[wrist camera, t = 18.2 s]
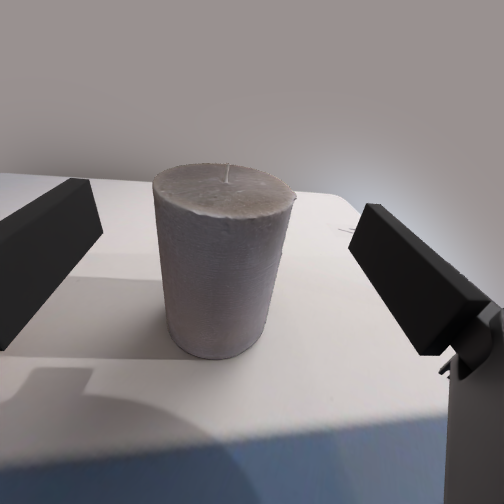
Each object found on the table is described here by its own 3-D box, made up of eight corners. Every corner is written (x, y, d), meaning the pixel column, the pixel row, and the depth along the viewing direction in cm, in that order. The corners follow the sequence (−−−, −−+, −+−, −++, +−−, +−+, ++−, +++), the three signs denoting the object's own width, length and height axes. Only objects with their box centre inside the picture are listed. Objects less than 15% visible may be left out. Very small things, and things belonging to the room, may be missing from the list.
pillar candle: (178, 280, 28) (168, 140, 20) (262, 286, 29) (288, 154, 21) (154, 360, 20) (119, 181, 12) (270, 364, 21) (317, 201, 13)
